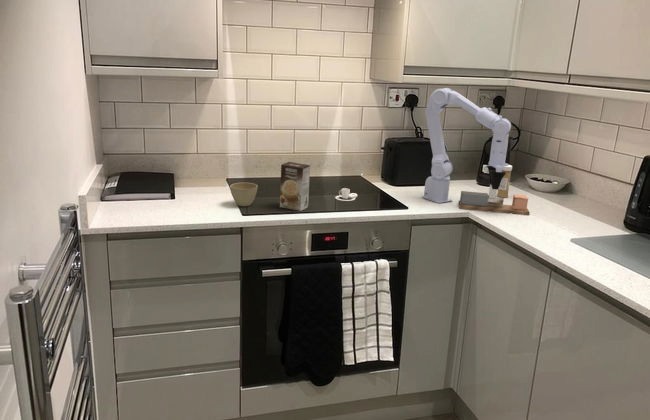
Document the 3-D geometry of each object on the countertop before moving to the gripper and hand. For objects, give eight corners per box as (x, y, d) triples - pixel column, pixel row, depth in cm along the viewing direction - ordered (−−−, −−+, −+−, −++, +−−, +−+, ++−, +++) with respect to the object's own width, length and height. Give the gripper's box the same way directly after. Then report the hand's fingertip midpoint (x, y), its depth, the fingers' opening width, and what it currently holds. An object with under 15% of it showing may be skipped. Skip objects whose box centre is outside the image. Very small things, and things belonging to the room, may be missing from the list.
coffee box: (278, 207, 196) (279, 164, 191) (287, 203, 201) (288, 161, 197) (301, 211, 192) (302, 167, 187) (309, 207, 198) (310, 164, 193)
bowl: (235, 199, 202) (235, 181, 200) (261, 202, 201) (261, 183, 199) (225, 206, 193) (225, 187, 191) (252, 209, 191) (252, 190, 189)
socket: (513, 209, 202) (515, 197, 201) (511, 206, 207) (513, 194, 206) (526, 210, 202) (528, 198, 200) (523, 207, 207) (525, 195, 205)
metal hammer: (464, 202, 206) (466, 183, 204) (463, 200, 209) (465, 181, 207) (502, 205, 204) (505, 186, 202) (501, 204, 207) (504, 185, 204)
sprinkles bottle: (510, 197, 225) (514, 165, 222) (503, 198, 223) (507, 166, 219) (501, 194, 229) (505, 163, 225) (494, 195, 227) (498, 164, 223)
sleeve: (460, 204, 206) (461, 193, 205) (459, 201, 210) (461, 190, 209) (487, 207, 204) (488, 196, 203) (485, 204, 208) (487, 193, 207)
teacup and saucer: (357, 197, 216) (357, 187, 215) (357, 202, 208) (358, 192, 207) (335, 196, 216) (335, 186, 215) (335, 201, 208) (335, 191, 207)
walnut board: (459, 208, 205) (459, 205, 204) (458, 203, 212) (458, 200, 212) (529, 215, 201) (529, 212, 200) (525, 209, 208) (525, 206, 208)
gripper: (512, 155, 192) (507, 192, 196) (506, 149, 206) (502, 183, 210) (492, 154, 194) (487, 190, 198) (488, 147, 207) (483, 181, 211)
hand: (493, 186), depth 204 cm, fingers open, 7 cm apart
